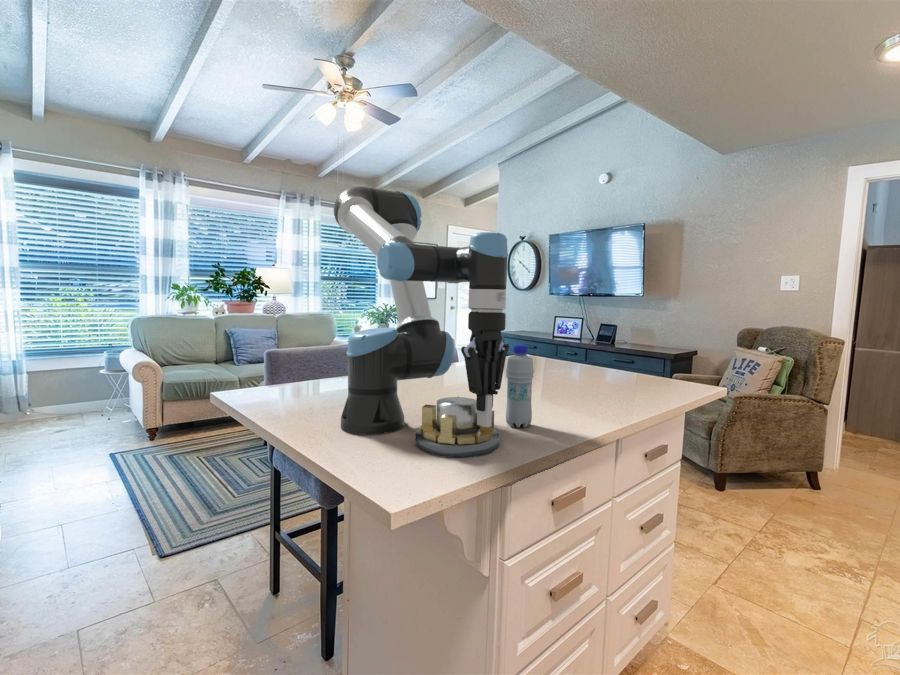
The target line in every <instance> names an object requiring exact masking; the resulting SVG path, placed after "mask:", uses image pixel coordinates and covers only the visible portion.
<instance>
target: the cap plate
mask: <svg viewBox="0 0 900 675" xmlns="http://www.w3.org/2000/svg"><path fill="white" fill-rule="evenodd" d="M476 401H477V399H475V398H471V397H470V398H469V397H465V396H464V397H463V396H461V397H460V396H449V397H444V398H443V397H442V398H439V399H438V400H436V419H437V426H436V429H435V431H438V432H441V417H442V416H443V415H444V414H447V415H456V435H463V434H472V433H476V432H480V429H478V428H479V425H477V409H476ZM414 435H415V437H414V439H415V441H414V442H415V446H416V448H417V449H418V450H419V451H422V452H424V453H426V454H429V455H432V456H437V457H440V458H441V457H443V458H454V459H456V458H457V459H466V458H467V459H468V458H476V457H482V456H486V455H489V454H491V453H493V452H495V451H497V450H498V449H499V448H500V434H499V431H498V430H496V429H494V435H493V436H492V438H491V439H489V440H486V441H483V442H479V443H476V442H475V444H457V443H456V444H447V443H438V441H437V442H434V441H432V440H429V439H426V438H424V437H423V436H422V434H421V427H420V428H419V429H417V430H416V431H415V433H414Z"/></svg>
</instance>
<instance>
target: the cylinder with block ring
mask: <svg viewBox="0 0 900 675" xmlns="http://www.w3.org/2000/svg"><path fill="white" fill-rule="evenodd" d="M436 426H437V404H424V405H423V406H422V407H421V424H420V428H421V434H422V436H423V437H424V438H426V439H429V440H432V441H434V442H437V441H438V443H447V444H456V443H457V444H475V442H476V443H479V442H483V441H486V440H489V439H491V438H492V436H493V435H494V430H495V410H493V409H492V426H490V427H484V426H480V425H479V428H478V429H480V432H476V433H472V434H463V435H456V415H447V414H444V415H443V416H442V417H441V432H438V431H435V429H436Z"/></svg>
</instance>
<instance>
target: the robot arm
mask: <svg viewBox="0 0 900 675" xmlns="http://www.w3.org/2000/svg"><path fill="white" fill-rule="evenodd" d="M333 215H334V216H333V217H334V219H335V221H336V223H337V224H338V225H339V227H340V228H341V229H342V230H343V231H344V232H346V233H348V234H350V235H354V236H355V237H356V239H358V240H359V241H360V242H361V243H362V244H363V245H364V246H365V247H366V248H367V249H368V250H370V251H371V253H372V254H373V255H374V256H376V257H377V258H376V262H377V263H376V265H377V269H378V272H379V273H378V274H380V276H381V277H382V278H383V280H386V281H387V280H389V283H390V286H391V291H392V296H393V301H394V305H395V309H396V313H397V314H396V315H397V320H398V325H397V327H391V326H390V327H389V326H387V327H386V326H385V327H376V328H368V329H363V330H358V331H355V332H353V333H352V334H351V335H349V337H348V339H347V340H348V341H347V351H346V356H347V398H346V400H345V404H344V406H343V410H342V413H341V416H340V428H341V430H343V431H345V432H348V433H350V434H357V435H381V434H388V433H394V432H397V431H399V430H401V429H403V428H404V426H405V414H404V411H403V408H402V405H401V401H400V398H399V395H398V381H406V380H415V379H424V378H425V379H426V378H427V379H431V378H435V377H440V376H443V375H444V374H446V373H447V372H448V371H449V370H450V368H451V366H452V363H453V361H454V357H455V356H454V355H455V345H454V344H455V343H454V340H453V337H452V335H451V334H450V333H449V332H447V331H445V330H441V327H440V322H439V321H438V320H437V319H436V318H435V317H432V314H431V310H430V309H431V308H430V305H429V301H428V297H427V293H426V288H425V284H424V282H432V283H447V284H460V283H468V309H469V310H471V311H469V313H468V317H467V318H468V319H467V320H468V324H467V329H468V330H469V331H471V335H470V339H469V343H468V345H467V346H465V345H464V346H462V347H461V349H460V351H461V354H462V355H463V358H464V364H465V371H466V376H467V377H466V378H467V384H468V391H469V392H470V393H471V394H475V396H476V400H477V401H476V409H477V425H480V426H484V427H490V426H492V410H493V406H494V395H496V396H497V395H498V393H499V390H500V389H501V386H502V383H503V382H502V381H503V374H504V370H505V363H506V359H507V358H506V357H507V354H508V351H509V349H510V345H509V344H508V343H505V342H503V336H502V331H503V332H504V331H505V330H506V318H507V316H506V313H505V312H503V311H504V310H506V309H507V308H506V307H507V306H506V305H507V304H506V303H507V281H508V278H507V275H508V257H509V254H508V238H507V236H506V235H505V234H504V233H501V232H493V231H484V232H482V231H481V232H476V233H473V234H472V235H471V236H470V239H469V245H468V246H461V247H460V246H459V247H455V246H454V247H453V246H445V245H444V246H440V245H432V244H431V245H429V244H420V243H415V242H414V241H415V240H414V239H416V237H417V234H418V232H419V230H420V227H421V225H422V220H421V218H422V210H421V206H420V204H419V202H418V200H417V199H416V198H415V197H414V196H413V195H412V194H410V193H406V192H403V191H400V190H395V191H391V190H387V189H381V188H375V187H369V186H353V187H350V188H348V189H345V190H343V191H342V192H340V194H339V195H338V197H337V198H336V200H335V201H334V204H333Z"/></svg>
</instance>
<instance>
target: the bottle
mask: <svg viewBox="0 0 900 675" xmlns="http://www.w3.org/2000/svg"><path fill="white" fill-rule="evenodd" d="M512 352H513V353H512V355H511V356H509V357H508V358H507V362H506V369H505V372H506V379H507V383H506V384H507V385H506V386H507V387H506V390H507V391H506V407H505V421H506V423H507V425H509V426H510V427H511V428H513V427H514V426H516V428H517V429H519V428H520V427H521V425H522V428H524V429H525V428H527V427H529V426H530V425H531V423H532V421H533V420H532V417H533V415H532V414H533V411H532V393H533V390H532V388H533V386H532V385H533V378H534V372H535V370H534V362H533V360H534V359H533V357H530V356H529V355H528V347H527V345H524V344H515V345H514V346H513V349H512Z"/></svg>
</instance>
